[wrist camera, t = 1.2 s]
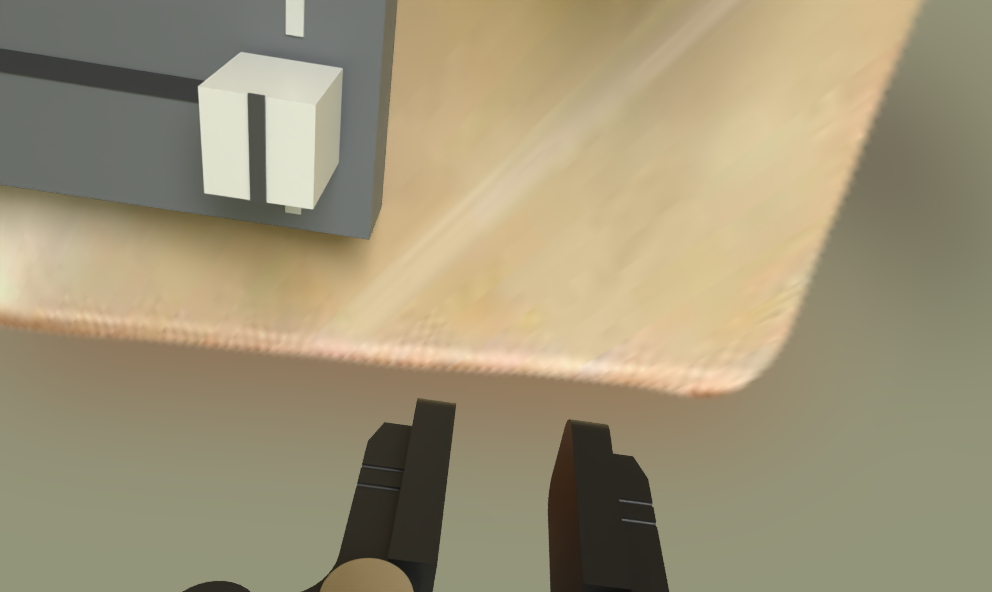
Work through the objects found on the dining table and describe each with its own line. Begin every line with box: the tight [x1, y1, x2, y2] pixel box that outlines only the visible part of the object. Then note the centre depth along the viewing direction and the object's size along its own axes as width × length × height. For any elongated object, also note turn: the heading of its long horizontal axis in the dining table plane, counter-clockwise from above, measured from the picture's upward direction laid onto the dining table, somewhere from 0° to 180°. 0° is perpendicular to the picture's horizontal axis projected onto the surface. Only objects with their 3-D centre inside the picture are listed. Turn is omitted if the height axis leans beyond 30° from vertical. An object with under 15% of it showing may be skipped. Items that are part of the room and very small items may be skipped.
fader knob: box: [198, 52, 343, 209], centre depth 25 cm, size 4×4×4 cm
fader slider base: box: [0, 0, 397, 239], centre depth 28 cm, size 10×20×3 cm, turn 81°
